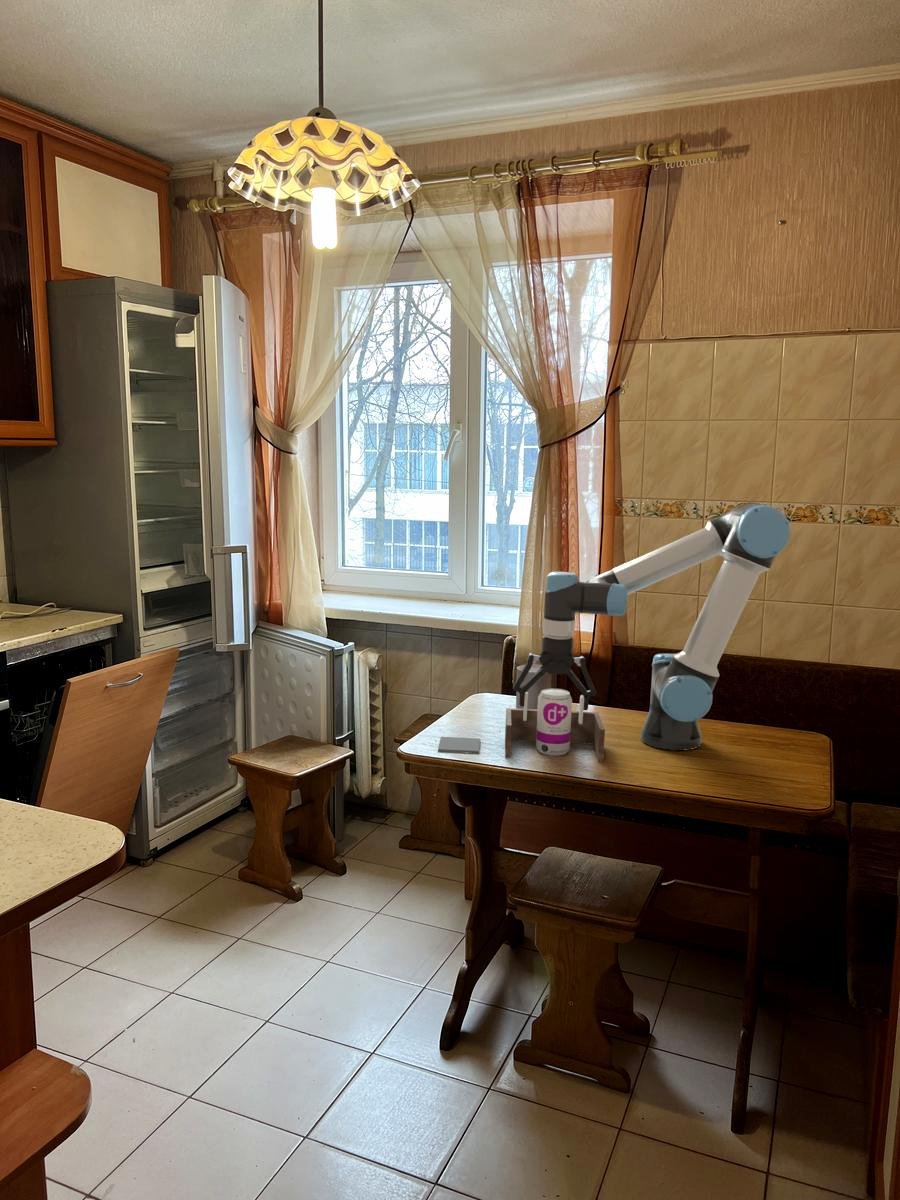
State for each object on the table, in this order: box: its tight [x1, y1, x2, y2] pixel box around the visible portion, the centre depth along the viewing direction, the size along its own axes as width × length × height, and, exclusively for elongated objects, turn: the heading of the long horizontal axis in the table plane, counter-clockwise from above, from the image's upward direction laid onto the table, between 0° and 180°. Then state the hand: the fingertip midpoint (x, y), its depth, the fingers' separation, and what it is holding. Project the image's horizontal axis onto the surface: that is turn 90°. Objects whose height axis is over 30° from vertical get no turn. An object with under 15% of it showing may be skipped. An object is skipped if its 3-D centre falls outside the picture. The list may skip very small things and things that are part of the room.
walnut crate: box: [504, 707, 606, 763], centre depth 221 cm, size 23×15×8 cm, turn 87°
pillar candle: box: [515, 662, 552, 710], centre depth 251 cm, size 10×10×15 cm
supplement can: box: [535, 688, 573, 757], centre depth 220 cm, size 8×8×15 cm
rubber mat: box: [437, 736, 481, 754], centre depth 223 cm, size 10×10×1 cm
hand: (552, 721), depth 220 cm, fingers open, 13 cm apart
